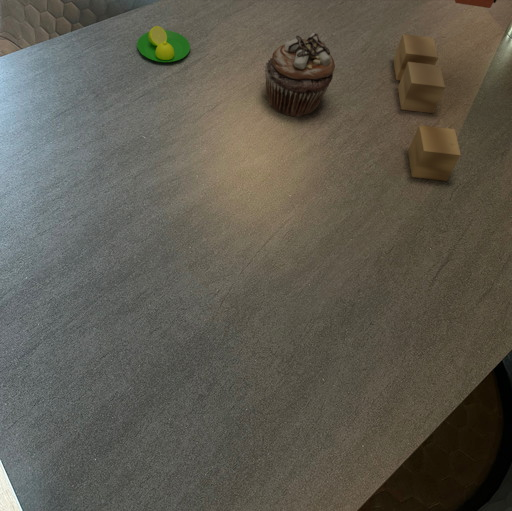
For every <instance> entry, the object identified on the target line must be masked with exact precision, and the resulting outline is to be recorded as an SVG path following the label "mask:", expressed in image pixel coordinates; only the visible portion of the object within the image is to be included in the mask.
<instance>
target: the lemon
mask: <svg viewBox="0 0 512 511" xmlns="http://www.w3.org/2000/svg"><path fill="white" fill-rule="evenodd" d="M136 47H137V50H138V51H139V53H140V54H141V55H142V56H143V57H144V58H147V59H149V60H152V61H155V62H160V63H172V62H177V61H180V60H181V59H184V58H185V57H186V56H187V55H188V54H189V52H190V50H191V45H190V42H189V40H188V39H187V38H186V37H185V36H184V35H183V34H180V33H178V32H176V31H172V30H169V29H168V30H167V29H164V28H163V27H161V26H159V25H154V26H153V27H152V28H151V29H150V30H149V31H147V32H145V33H143V34H142V35H141V36H140V37H139V38H138V40H137V42H136Z"/></svg>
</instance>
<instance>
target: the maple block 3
mask: <svg viewBox="0 0 512 511" xmlns="http://www.w3.org/2000/svg"><path fill="white" fill-rule="evenodd" d="M407 155H408V162H409V168H410V174H411V178H417V179H427V180H435V181H443V182H444V181H445V182H447V181H448V180H449V178H450V176H451V174H452V172H453V170H454V168H455V167H456V165H457V163H458V162H459V159H460V157H461V151H460V145H459V142H458V137H457V132H456V129H455V128H447V127H438V126H431V125H430V126H429V125H422V124H421V125H420V124H419V125H418V126H417V130H416V132H415V134H414V136H413V138H412V141H411V143H410V145H409V147H408V150H407Z"/></svg>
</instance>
